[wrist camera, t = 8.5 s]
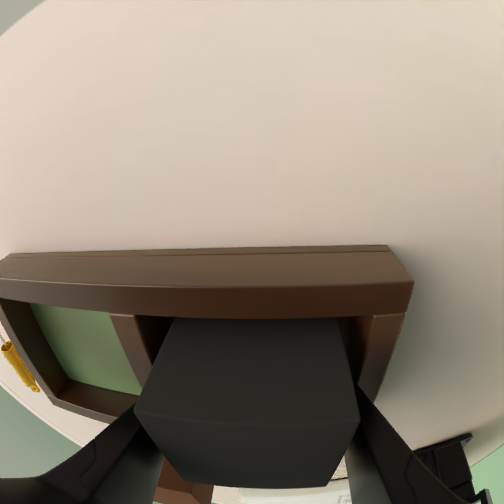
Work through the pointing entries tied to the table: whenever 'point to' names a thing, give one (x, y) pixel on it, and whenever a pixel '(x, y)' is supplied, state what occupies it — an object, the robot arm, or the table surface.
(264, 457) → the black box
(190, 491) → the brown cube-like block
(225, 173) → the table surface
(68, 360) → the pad mount
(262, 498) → the hard drive
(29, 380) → the purple and yellow tool
